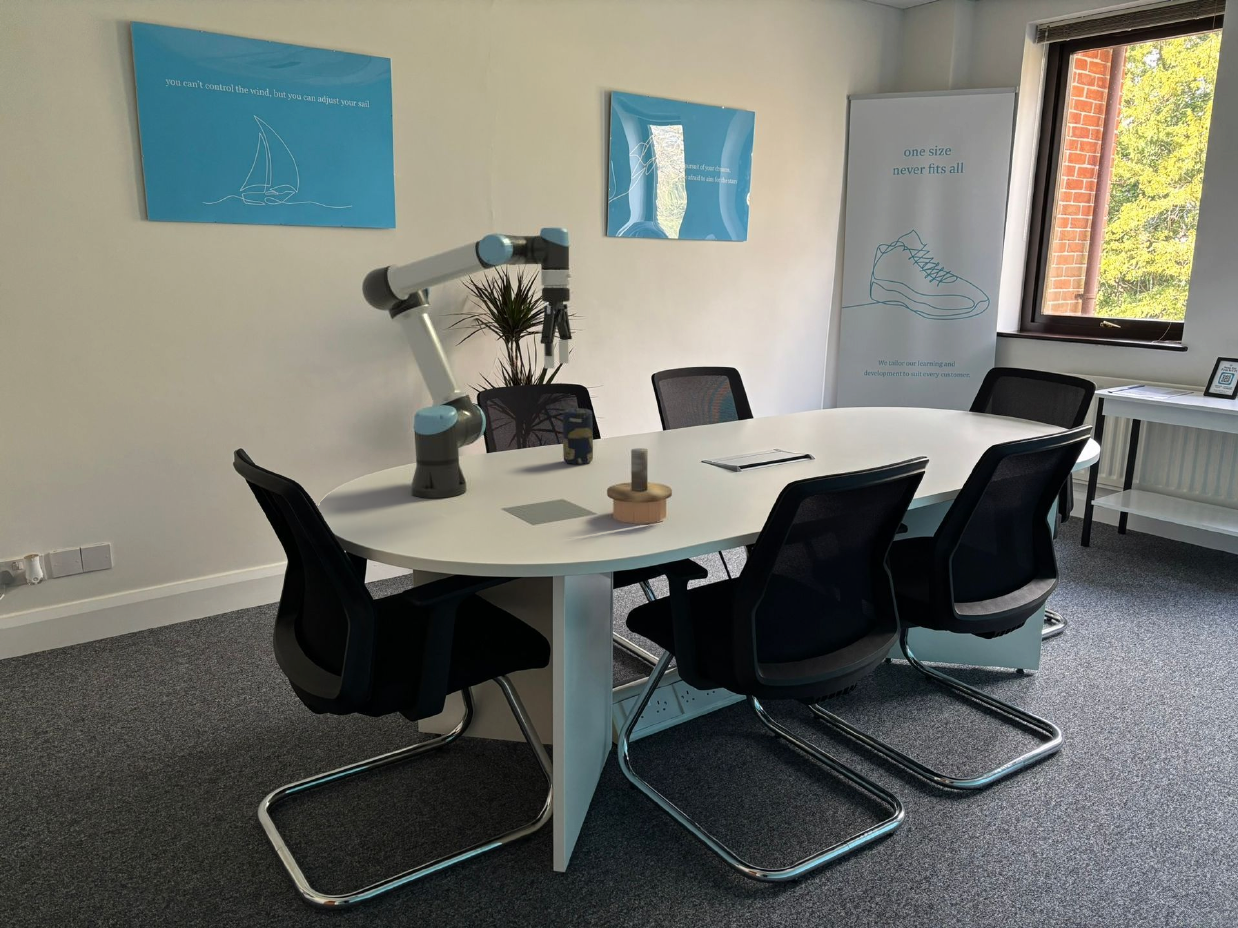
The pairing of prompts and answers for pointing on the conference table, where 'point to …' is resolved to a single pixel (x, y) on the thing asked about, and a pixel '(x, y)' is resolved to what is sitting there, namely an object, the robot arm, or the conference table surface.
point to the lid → (639, 483)
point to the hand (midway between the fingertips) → (557, 365)
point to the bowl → (639, 511)
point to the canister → (577, 436)
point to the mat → (548, 511)
